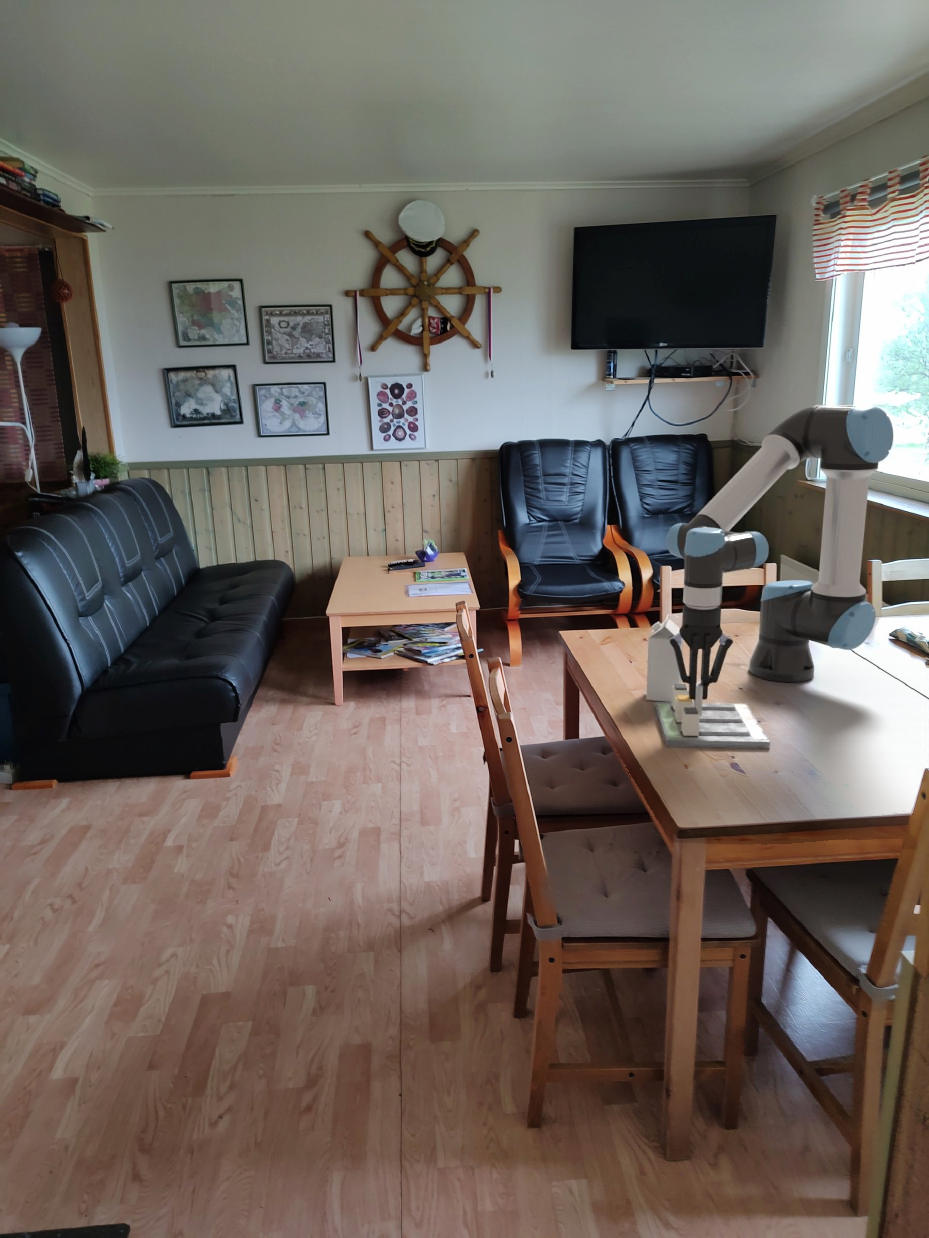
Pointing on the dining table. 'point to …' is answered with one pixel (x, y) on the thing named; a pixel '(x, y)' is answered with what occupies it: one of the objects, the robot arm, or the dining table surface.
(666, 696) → the milk carton
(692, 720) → the block
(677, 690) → the block
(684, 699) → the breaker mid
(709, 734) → the panel
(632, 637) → the dining table surface
